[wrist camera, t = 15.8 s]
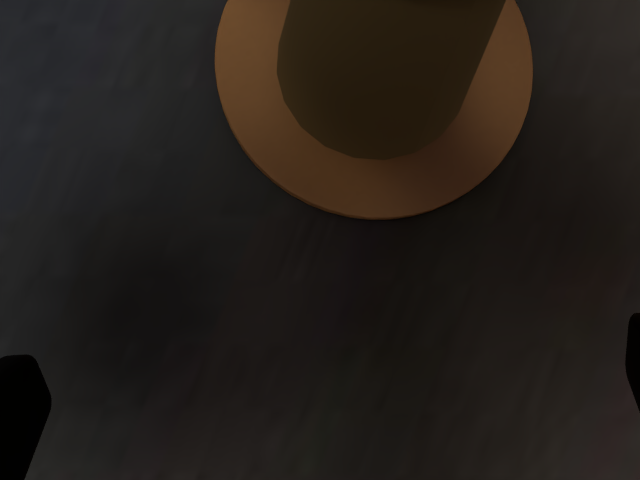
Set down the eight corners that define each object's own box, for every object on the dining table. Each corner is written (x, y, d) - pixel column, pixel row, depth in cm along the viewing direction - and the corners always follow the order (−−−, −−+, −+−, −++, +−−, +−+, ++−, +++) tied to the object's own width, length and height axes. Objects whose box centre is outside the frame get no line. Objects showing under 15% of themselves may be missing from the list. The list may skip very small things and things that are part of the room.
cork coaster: (396, 287, 18) (399, 286, 18) (148, 77, 19) (145, 72, 18) (589, 53, 20) (595, 48, 19) (354, -137, 20) (355, -146, 20)
